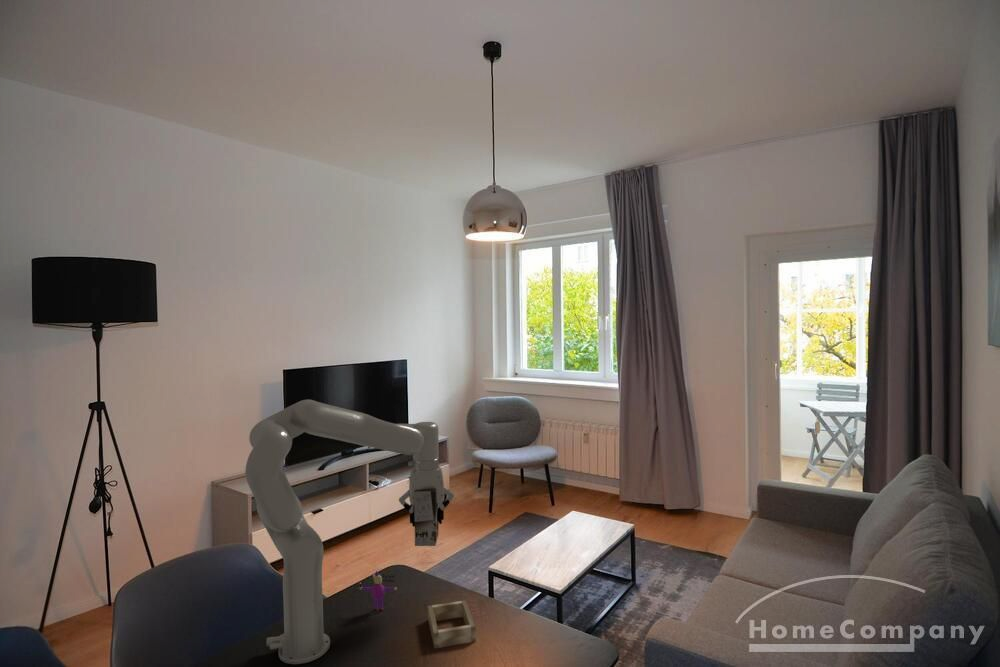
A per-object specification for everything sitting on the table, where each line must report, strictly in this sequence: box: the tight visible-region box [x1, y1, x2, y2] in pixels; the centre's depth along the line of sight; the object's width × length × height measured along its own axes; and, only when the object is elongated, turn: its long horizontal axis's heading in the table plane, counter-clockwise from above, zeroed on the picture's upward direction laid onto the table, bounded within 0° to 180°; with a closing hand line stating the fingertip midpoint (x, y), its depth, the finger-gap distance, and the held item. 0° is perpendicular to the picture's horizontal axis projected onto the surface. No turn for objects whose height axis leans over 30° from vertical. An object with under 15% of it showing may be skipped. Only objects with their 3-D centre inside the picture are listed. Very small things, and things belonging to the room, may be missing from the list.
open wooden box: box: [427, 600, 477, 649], centre depth 147 cm, size 11×14×4 cm
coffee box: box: [414, 489, 440, 547], centre depth 159 cm, size 9×6×16 cm
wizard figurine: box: [359, 570, 398, 611], centre depth 157 cm, size 11×3×12 cm, turn 85°
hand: (426, 523), depth 159 cm, fingers closed on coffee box, 7 cm apart
